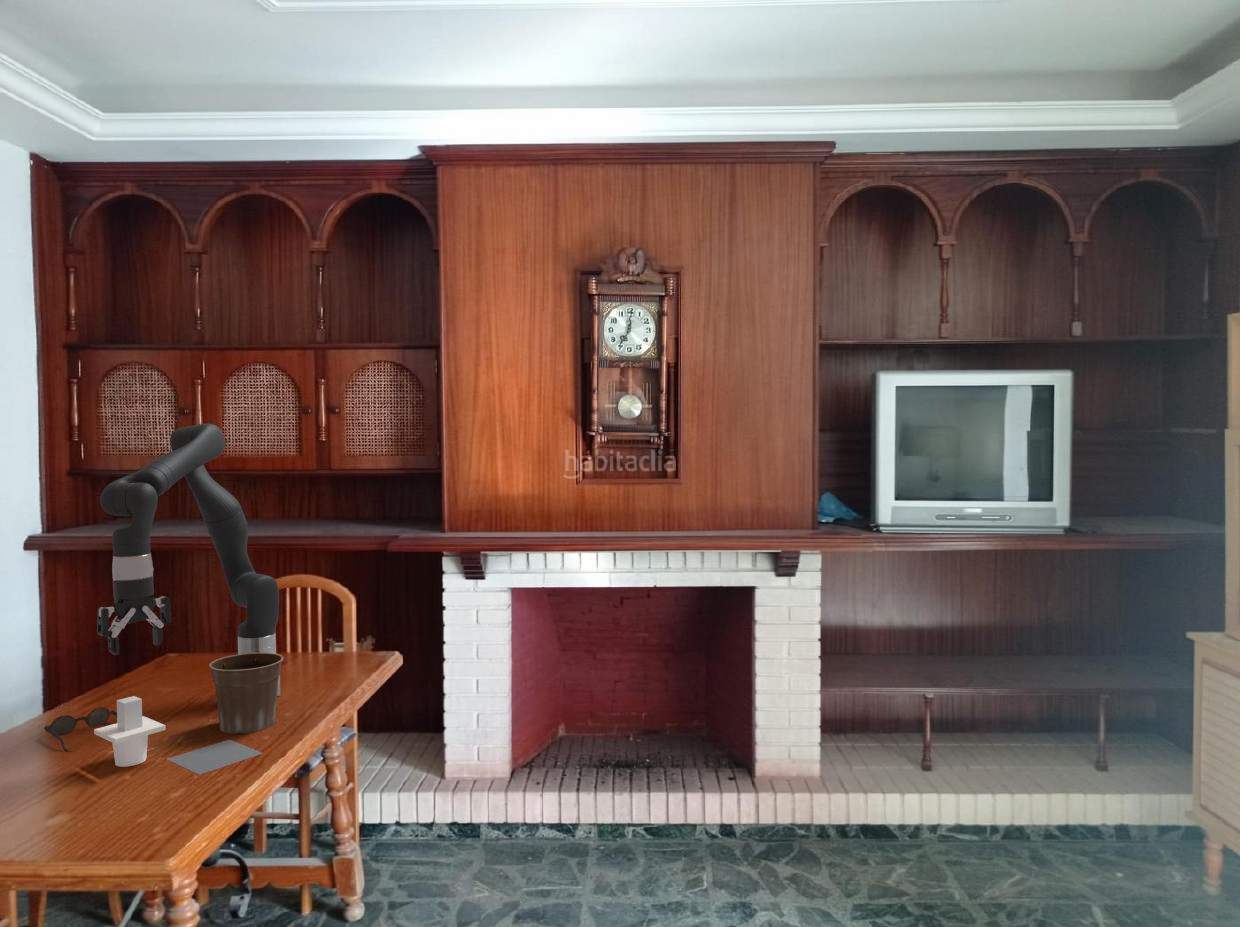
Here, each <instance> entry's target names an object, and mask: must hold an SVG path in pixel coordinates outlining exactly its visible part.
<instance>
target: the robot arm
mask: <svg viewBox="0 0 1240 927" xmlns="http://www.w3.org/2000/svg"><path fill="white" fill-rule="evenodd" d="M169 442H170V443H169V445H170V449H171V451H170V452H167V453H165V454H162V455H161V456H158V457H157V458H154V459H153V460H151V461H150V462H148V463H147V464H145V465H144V466H143V467H142V468H140V469H139V470H138V471H136V472H133V473H130V474H127V475H125V476H123V477H121V478H118V479H116V480H114V481H112V482H110V483H109V484H107V486H106V487H104V489H103V490H102V492H101V495H100V499H99V501H100V506H101V509H102V510H103V511H104V512H105V513H107V514H109V515H111V516H115V517H116V516H119V517H123V516H124V517H128V516H129V517H130V516H131V517H132V518H131V519H132V520H131V521H130V523H129V525H127V526H122V527H117V528H116V529H114V531H113V532H112V537H111V538H112V539H111V541H112V542H111V543H112V563H111V564H112V567H111V570H112V589H113V590H112V591H113V600H114V601H113V605H112V606H108V607H106V606H105V607H103V606H99V607H98V608H97V610H96V611H97V612H96V613H97V614H96V616H97V618H96V633H97V636H100V637H104V638H107V645H108V646H107V648H108V652H109V653H111V654H112V655H113V656H118V655H120V639H119V636H118V635H119V634H120V633H121V631H122V630H123V629H125V627H126V626H127V624H135V623H137V622H145V621H148V623H150V625H152V628H151V629H152V630H151V631H152V632H151V633H152V644H153V645H154V646H157V647H158V646H161V645H162V643H163V640H164V631H163V630H164V629H163V628H164V626H166V625H168V624H171V623H172V621H173V620H172V619H173V618H172V611H171V601H170V597H169V596H164V595H161V596H159V597H157V598H155V597H154V594H155V589H154V586H155V585H154V567H153V559H152V553H151V550H152V549H151V531H152V527H153V523H154V518H155V514H156V511H157V507H158V501H159V500H158V498H159V497H160V496H161V495H162V496H163V494H165V492H167V491H168V490H169V489H170V488H171V487H173V486H174V485H175V484H176V483H177V482H180V480H181V479H183V478H185V480H186V482H187V484H188V486H189V488H190V490H191V492H192V494H193V496H194V499H195V501H196V503H197V505H198V506H197V507H198V508H199V511H200V513H201V517H202V519H203V522H204V525H205V527H206V529H207V531H208V534H209V536H210V538H211V541H212V544H213V547H214V548H215V551H216V554H217V556H218V558H219V560H220V563H221V565H222V569H223V572H224V576H225V580H226V583H227V587H228V590H229V594H230V597H231V599H232V601H233V602H234V603H235V604H236V605H238V606H239V607H242V608H244V609H246V619H245V621H243V622H242V623H240V624H239V625H237V626H238V627H237V655H238V654H246V653H275V654H277V644H276V643H277V641H276V637H277V636H276V627H277V624H278V621H279V618H280V617H279V614H280V612H279V610H280V589H279V585H278V583H277V581H276V579H275V578H274V577H272V576H270V575H267V574H262V573H257V572H256V571H255V569H254V566H253V565H252V562H251V559H250V557H249V554H248V540H249V525H248V522H247V519H246V516H245V513H244V511H243V508H242V507H241V504H240V502H239V501H238V499H237V498H235V496H234V495H232V494H231V493H230V492H229V491H228V490H227V489H226V488H224V487H223V486H221V485H220V484H219V483H218V482H217V481H216V480H214V479H213V477H212V476H211V475H210V474H209V472H208V470H207V469H206V467H205V464H207V463H209V462H212V461H213V460H215V459H217V458H220V457H221V456H222V454H223V453H224V452H225V447H226V439H225V435H224V433H223V431H222V430H221V428H220V427H218V426H217V425H216V424H213V423H202V424H201V423H200V424H195V425H190V426H184V427H180V428H176V429H175V430H173V431H172V433H171V434H170V438H169ZM156 606H157V607H158V608H159V614H160V619H159V617H158V616H157V615H156V613H154V612H153V610H154V608H155V607H156ZM113 613H114V615H116V616H115V618H114V619H113V620H112V621H111V626H110V627H109V625H110V624H109V621H110V620H109V619H110V617H111V616H112V614H113ZM280 696H281V674H280V675H279V678H278V689H277V697H280Z"/></svg>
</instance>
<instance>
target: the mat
mask: <svg viewBox="0 0 1240 927" xmlns="http://www.w3.org/2000/svg"><path fill="white" fill-rule="evenodd" d="M263 754H264V753H263V752H261V751H258V750H256V749H254V748H252V747H248V746H247V745H244V744H242V743H239V742H236V741H234V740H231V739H226V740H223V741H219V742H218V743H217V742H216V743H214V744H211V745H207V746H204V747H201V748H198V749H194V750H191V751H187V752H186V753H185V752H184V753H180V754H178V755H175V756H171V757H169V758H166V760H167V761H170V762H171V763H173V764H176V765H178V766H179V767H182V768H184V769H186V770H188V771H191V772H192V773H194V774H196V775H198V776H200V775H203V774H206V773H210V772H212V771H216V770H218V769H221V768H224V767H227V766H231V765H234V764H236V763H238V762H242V761H245V760H248V759H251V758H254V757H257V756H260V755H263Z"/></svg>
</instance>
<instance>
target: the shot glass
mask: <svg viewBox="0 0 1240 927" xmlns="http://www.w3.org/2000/svg"><path fill="white" fill-rule="evenodd" d="M148 740H149V735H146V736H143V737H139V738H136V739H132V740H129V741H125V742H122V743H118V744H114V743H112V742H111V744H112V749H113V756H114V764H115V766H116V767H121V768H123V767H124V768H126V767H132V766H135V765H140V764H142V763H144V762H145V761H146V760H147V753H148Z"/></svg>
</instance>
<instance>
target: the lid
mask: <svg viewBox="0 0 1240 927" xmlns="http://www.w3.org/2000/svg"><path fill="white" fill-rule="evenodd" d="M142 701H143V699H142V698H140V697H137V696H135V695H133V696H128V697H125V698H121V699H116V712H117V716H116V717H117V718H116V720H117V721H116V723H113V724H109V725H106V726H105V725H104V726H101V727H98V728H94V729H93V732H94V733H93V734H94V736H95V735H96V736H97V737H100V738H101V739H104V740H106V741H108V742H110V743H111V744H112V743H114V744H118V743H122V742H125V741H129V740H132V739H136V738H139V737H143V736H146V735H148V736H149V735H153V734H155V733H161V732H163V731H166V729H167V728H166V724H163V723H161V722H158V721H156V720H154V719H151V718H149V717H146V716H144V715H143V702H142Z"/></svg>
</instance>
